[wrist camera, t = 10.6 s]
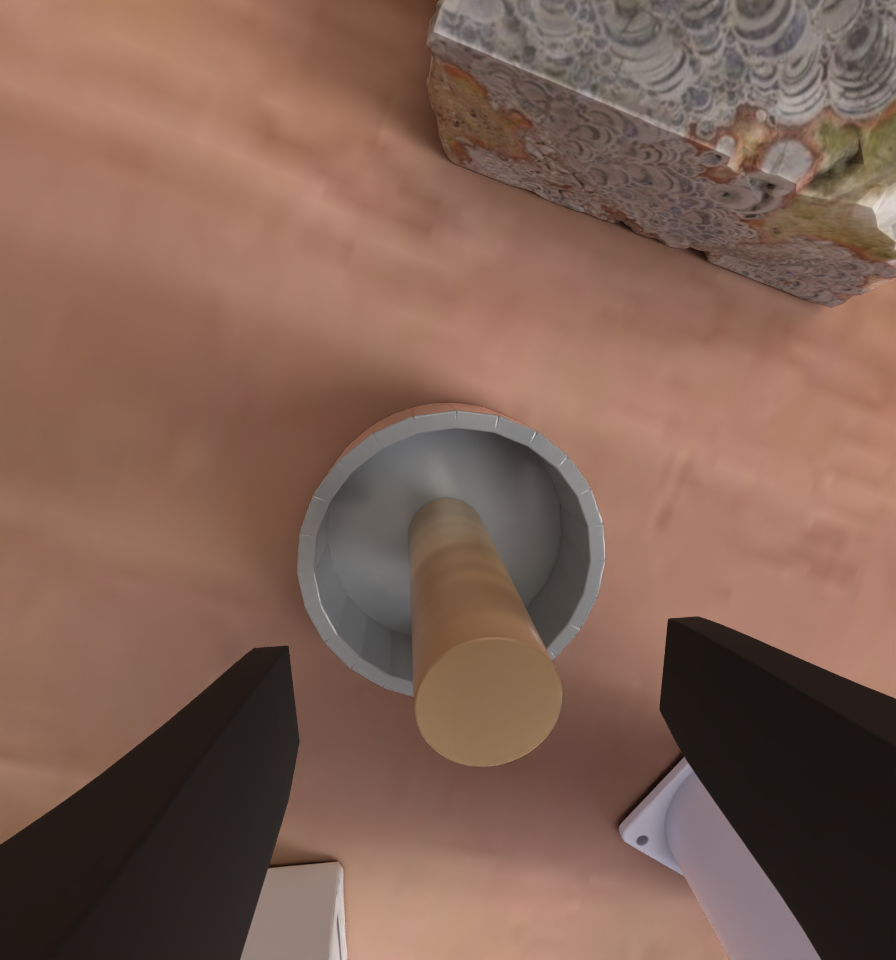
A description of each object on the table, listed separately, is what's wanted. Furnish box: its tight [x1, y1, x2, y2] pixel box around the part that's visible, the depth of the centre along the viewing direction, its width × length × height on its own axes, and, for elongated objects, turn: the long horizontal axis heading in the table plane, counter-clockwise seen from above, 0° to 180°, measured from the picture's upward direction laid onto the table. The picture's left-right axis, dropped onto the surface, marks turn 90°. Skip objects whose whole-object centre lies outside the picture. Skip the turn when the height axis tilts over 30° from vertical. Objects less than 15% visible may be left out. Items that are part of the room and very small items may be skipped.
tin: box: [297, 403, 605, 697], centre depth 15 cm, size 9×9×3 cm
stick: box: [408, 498, 563, 767], centre depth 12 cm, size 3×3×8 cm
